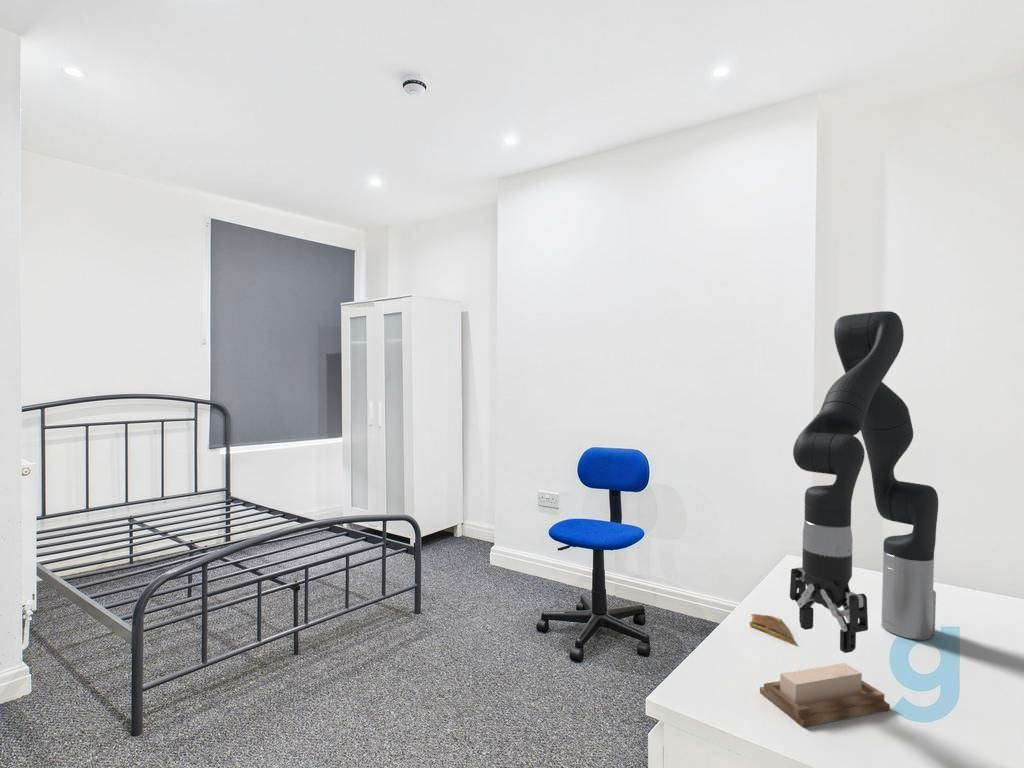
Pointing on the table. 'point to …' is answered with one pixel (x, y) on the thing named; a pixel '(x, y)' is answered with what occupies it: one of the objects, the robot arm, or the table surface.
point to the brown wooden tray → (827, 705)
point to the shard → (771, 626)
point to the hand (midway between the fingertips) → (825, 639)
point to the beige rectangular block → (821, 684)
